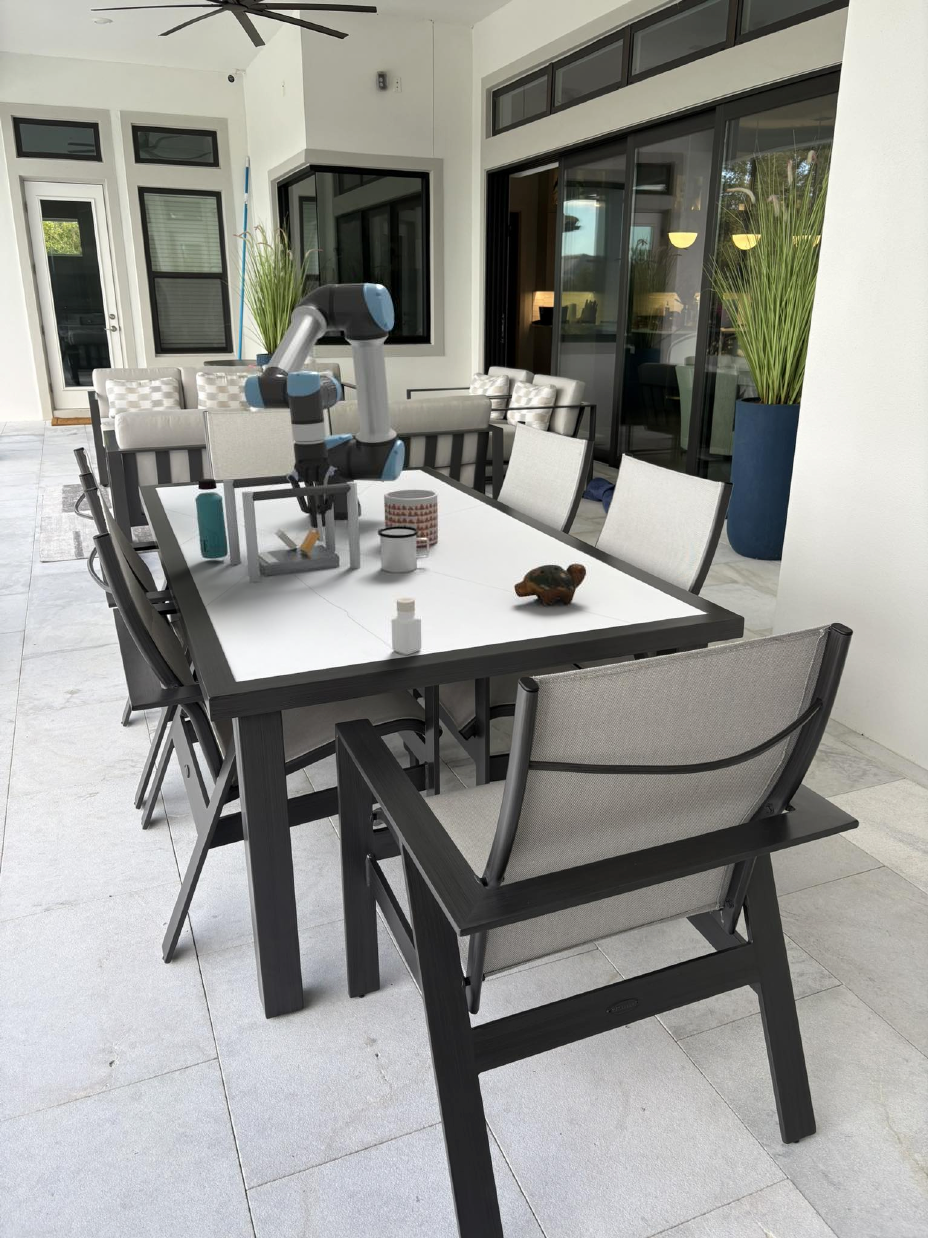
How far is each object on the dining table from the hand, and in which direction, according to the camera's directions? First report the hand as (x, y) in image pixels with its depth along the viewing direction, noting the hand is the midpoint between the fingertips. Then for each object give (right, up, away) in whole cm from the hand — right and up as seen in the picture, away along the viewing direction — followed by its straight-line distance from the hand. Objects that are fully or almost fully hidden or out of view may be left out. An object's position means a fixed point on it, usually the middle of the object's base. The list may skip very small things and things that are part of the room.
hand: (319, 540), depth 214 cm
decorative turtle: (+52, -15, -28) cm, 61 cm away
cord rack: (-6, -6, -1) cm, 8 cm away
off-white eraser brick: (-7, -2, +4) cm, 8 cm away
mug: (+20, -7, -3) cm, 22 cm away
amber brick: (-4, -3, -1) cm, 5 cm away
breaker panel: (-6, -6, -1) cm, 8 cm away
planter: (+21, +1, +20) cm, 29 cm away
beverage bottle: (-26, -5, +2) cm, 26 cm away
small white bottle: (+24, -25, -55) cm, 65 cm away
